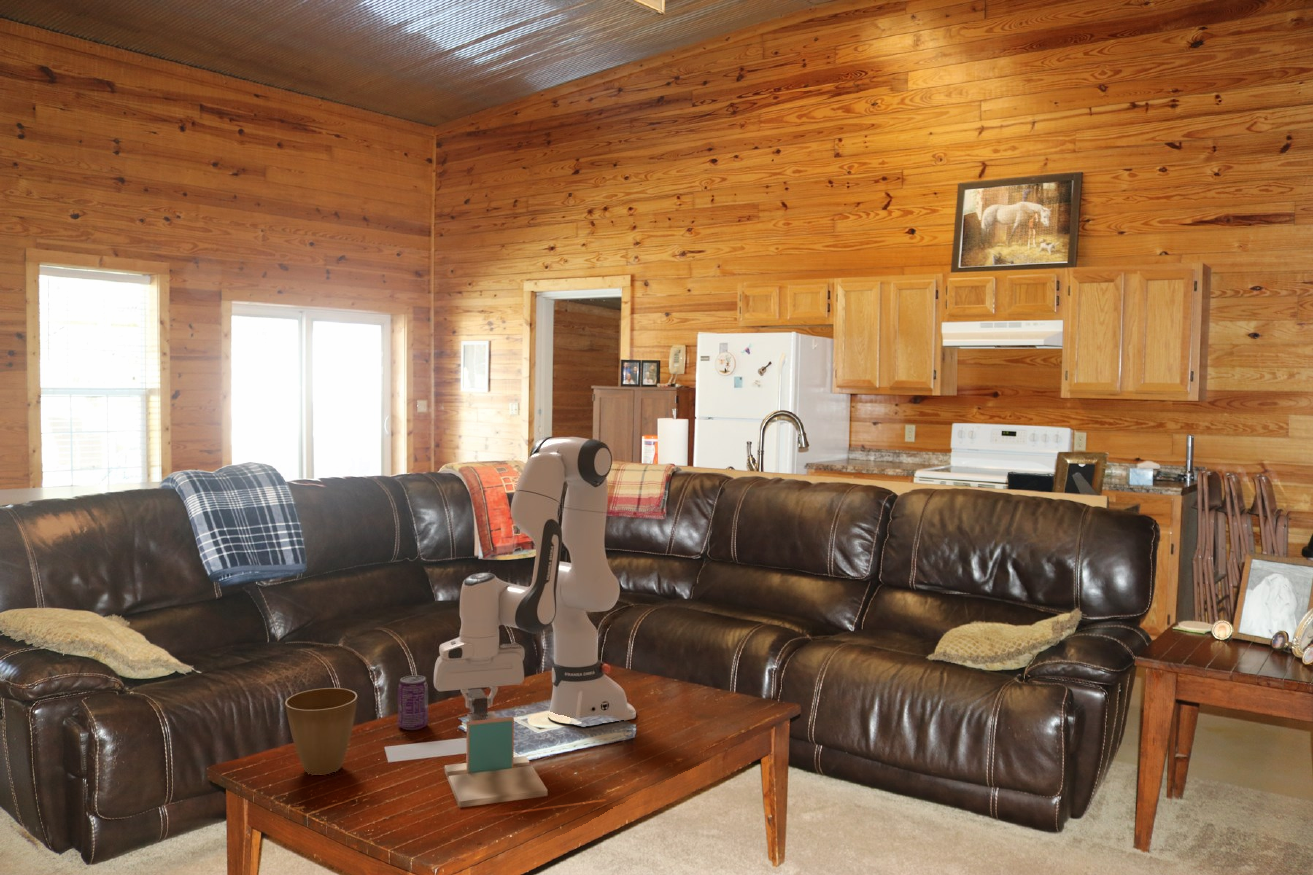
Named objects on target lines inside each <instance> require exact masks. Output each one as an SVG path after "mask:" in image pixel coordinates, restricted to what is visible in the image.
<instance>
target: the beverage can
mask: <svg viewBox="0 0 1313 875" xmlns="http://www.w3.org/2000/svg"><path fill="white" fill-rule="evenodd" d="M397 688H398V690H397V693H398V695H397V696H398V697H397V708H398V710H397V711H398V712H397V713H398V715H397V718H398V719H397V720H398V721H397V723H398V724H397V725H398V727H399V728H402V729H403V730H406V731H417V730H421V729H422V728H424V727H425V726H427V725H428V724H429V686H428V683H427V677H426V676H424V675H417V674H416V675H415V674H414V675H413V674H412V675H406V676H403V677H401V678H400V679H399V685H398V687H397Z"/></svg>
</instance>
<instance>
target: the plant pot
mask: <svg viewBox="0 0 1313 875" xmlns="http://www.w3.org/2000/svg"><path fill="white" fill-rule="evenodd" d="M357 701H358V694H357V692H356V691H353V690H352V689H347V688H343V687H342V688H341V687H325V688H317V689H310V690H305V691H301V692H298V693H295V694H293V695H290V697H288V698H286V700H285V702H284V703H285V704H284V705H285V710H286V714H287V720H288V724H289V730H290V733H291V737H292V740H293V743H294V746H295V749H296V752H297V755H298V757H299V760H300V763H301V766H302V767H303V769H304V771H305V773H306V772H307V773H309V774H317V775H318V774H329V775H331V774H330V773H332V772H335V773H337V772H338V770H339V769H340V770H341V768H342V766H343V763H344V760H345V758H346V755H347V751H348V747H349V744H350V739H351V736H352V732H353V728H354V722H355V716H356V709H357ZM340 770H339V771H340ZM336 771H337V772H336ZM307 773H306V774H307ZM309 774H308V775H309ZM332 774H333V773H332Z"/></svg>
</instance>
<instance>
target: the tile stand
mask: <svg viewBox="0 0 1313 875" xmlns="http://www.w3.org/2000/svg"><path fill="white" fill-rule="evenodd" d="M530 764H531V763H530V760H529V758H528V757H527V755H522V756H514V764H513V768H510V769H502V770H494V771H485V772H477V773H469V774H466V762H464V763H463V762H462V763H454V764H453V763H452V764H446V765H444V774H445V775H446V779H447V781H448V783H449V786H450V789H451V791H452V793H453V796H454V798H455V800H456V803H457V805H458V807H459V808H466V807H473V806H482V805H487V804H489V805H490V804H497V803H505V802H510V801H511V802H512V801H519V800H525V799H527V800H528V799H533V798H535V799H536V798H542V797H548V788H547V787H546V786H545V784H544V782H543V781H542V779H541V778H540V776H539V774H538V773H537V771H536V770H535V768H534V766H533V765H530Z"/></svg>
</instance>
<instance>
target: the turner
mask: <svg viewBox="0 0 1313 875" xmlns="http://www.w3.org/2000/svg"><path fill="white" fill-rule="evenodd" d="M467 697H468V698H472V699H473V707H471V708H468V709H469V711H470V712H471V713H467V716H466V718H467V720H468V721H477V720H486V719H496V718H499V716H498V715H497V713H496V712H495V711H488V706H487V695H486V694H485V692H484V690H483V688H471V689H468V693H467Z"/></svg>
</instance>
